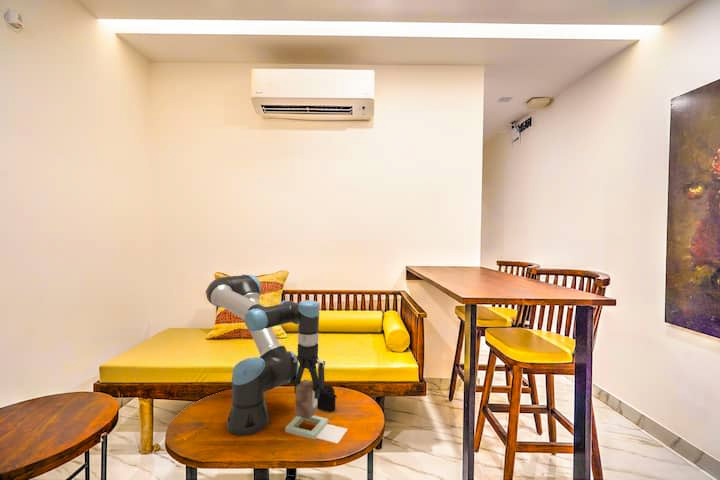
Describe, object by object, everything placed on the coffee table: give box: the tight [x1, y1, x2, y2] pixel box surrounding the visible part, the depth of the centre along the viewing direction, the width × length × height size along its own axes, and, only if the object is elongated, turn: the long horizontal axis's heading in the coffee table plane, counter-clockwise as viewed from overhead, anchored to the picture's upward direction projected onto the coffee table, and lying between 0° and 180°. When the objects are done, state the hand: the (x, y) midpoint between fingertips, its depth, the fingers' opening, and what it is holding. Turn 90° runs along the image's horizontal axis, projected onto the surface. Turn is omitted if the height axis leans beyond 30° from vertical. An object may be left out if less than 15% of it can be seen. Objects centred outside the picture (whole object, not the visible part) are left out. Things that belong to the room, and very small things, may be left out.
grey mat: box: [315, 423, 349, 444], centre depth 121 cm, size 9×9×1 cm
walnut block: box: [294, 379, 318, 419], centre depth 125 cm, size 6×6×11 cm
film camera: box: [317, 384, 337, 413], centre depth 143 cm, size 15×10×9 cm, turn 57°
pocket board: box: [284, 414, 329, 440], centre depth 125 cm, size 12×11×2 cm
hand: (306, 404), depth 125 cm, fingers closed on walnut block, 6 cm apart
